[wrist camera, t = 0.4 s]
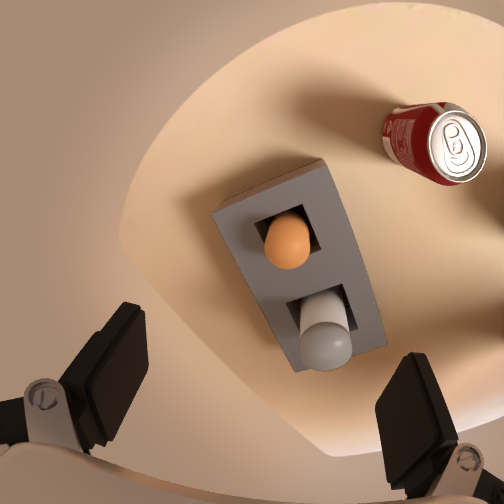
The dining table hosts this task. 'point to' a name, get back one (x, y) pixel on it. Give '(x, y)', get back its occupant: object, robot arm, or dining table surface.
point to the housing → (313, 269)
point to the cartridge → (324, 330)
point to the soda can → (435, 142)
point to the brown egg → (287, 240)
